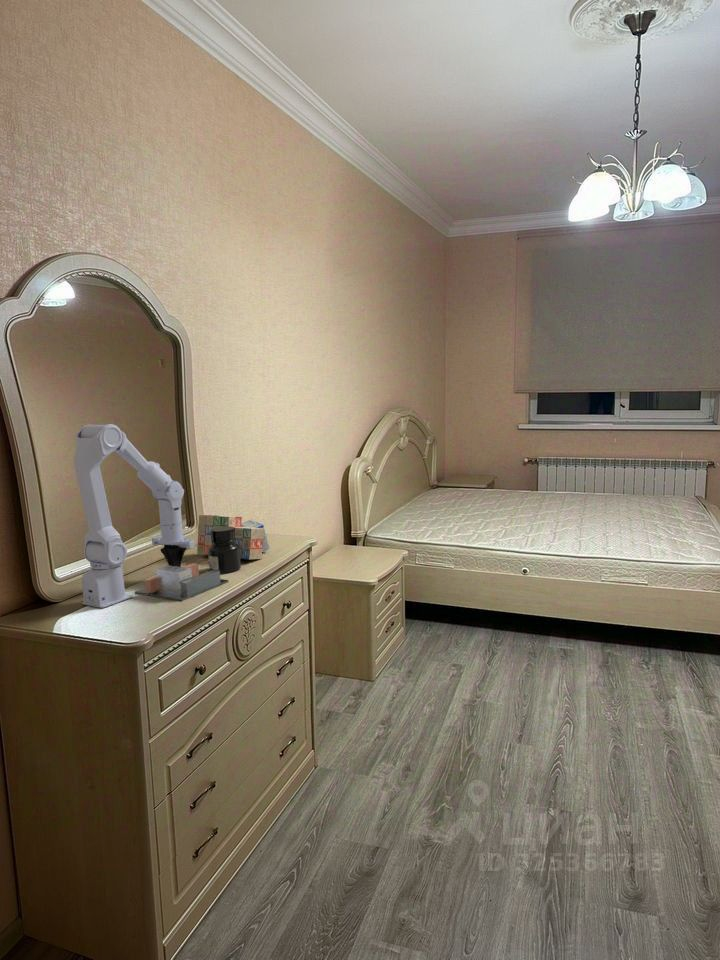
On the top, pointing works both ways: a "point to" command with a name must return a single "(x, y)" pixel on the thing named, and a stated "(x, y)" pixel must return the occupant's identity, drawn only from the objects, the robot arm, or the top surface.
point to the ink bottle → (224, 550)
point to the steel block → (171, 579)
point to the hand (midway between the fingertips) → (175, 571)
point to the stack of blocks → (244, 536)
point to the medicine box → (257, 525)
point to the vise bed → (170, 596)
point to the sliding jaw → (152, 582)
